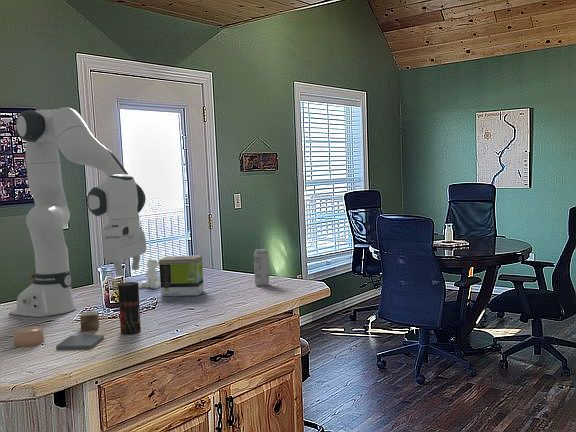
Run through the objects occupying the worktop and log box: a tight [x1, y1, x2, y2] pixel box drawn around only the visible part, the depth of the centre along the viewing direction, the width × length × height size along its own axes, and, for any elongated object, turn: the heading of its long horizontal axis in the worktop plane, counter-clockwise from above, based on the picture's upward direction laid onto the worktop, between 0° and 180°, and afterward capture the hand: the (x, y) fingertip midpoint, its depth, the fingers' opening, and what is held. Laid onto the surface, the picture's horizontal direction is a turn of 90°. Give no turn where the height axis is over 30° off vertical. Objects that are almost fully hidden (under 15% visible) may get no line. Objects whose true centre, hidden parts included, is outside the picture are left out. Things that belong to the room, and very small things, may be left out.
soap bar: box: [12, 325, 45, 348], centre depth 170 cm, size 8×8×4 cm
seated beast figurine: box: [138, 258, 161, 290], centre depth 246 cm, size 10×9×12 cm
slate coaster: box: [55, 334, 105, 350], centre depth 167 cm, size 10×10×1 cm
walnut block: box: [79, 310, 100, 333], centre depth 183 cm, size 5×5×5 cm
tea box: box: [158, 254, 204, 297], centre depth 230 cm, size 15×10×15 cm, turn 84°
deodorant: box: [117, 281, 142, 336], centre depth 178 cm, size 6×6×15 cm
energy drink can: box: [253, 248, 270, 287], centre depth 242 cm, size 6×6×15 cm
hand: (128, 272), depth 177 cm, fingers open, 8 cm apart
